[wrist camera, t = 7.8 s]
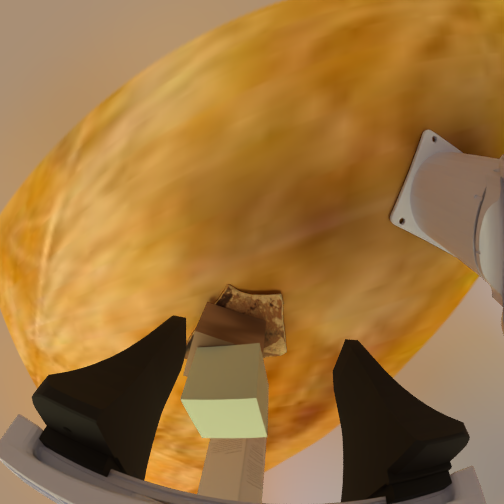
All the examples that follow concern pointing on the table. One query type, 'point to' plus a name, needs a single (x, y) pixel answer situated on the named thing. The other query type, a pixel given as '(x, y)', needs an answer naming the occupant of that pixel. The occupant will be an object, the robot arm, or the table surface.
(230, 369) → the sage block
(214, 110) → the table surface
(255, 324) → the walnut block
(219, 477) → the skincare box
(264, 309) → the shard
